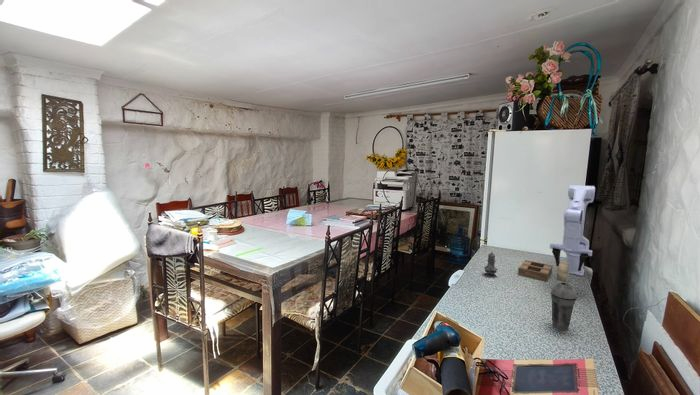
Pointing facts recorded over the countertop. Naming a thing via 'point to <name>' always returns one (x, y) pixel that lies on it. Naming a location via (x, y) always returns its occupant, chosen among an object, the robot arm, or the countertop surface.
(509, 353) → the countertop surface
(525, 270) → the block
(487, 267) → the grey chess piece
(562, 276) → the beech pin
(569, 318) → the beverage cup
